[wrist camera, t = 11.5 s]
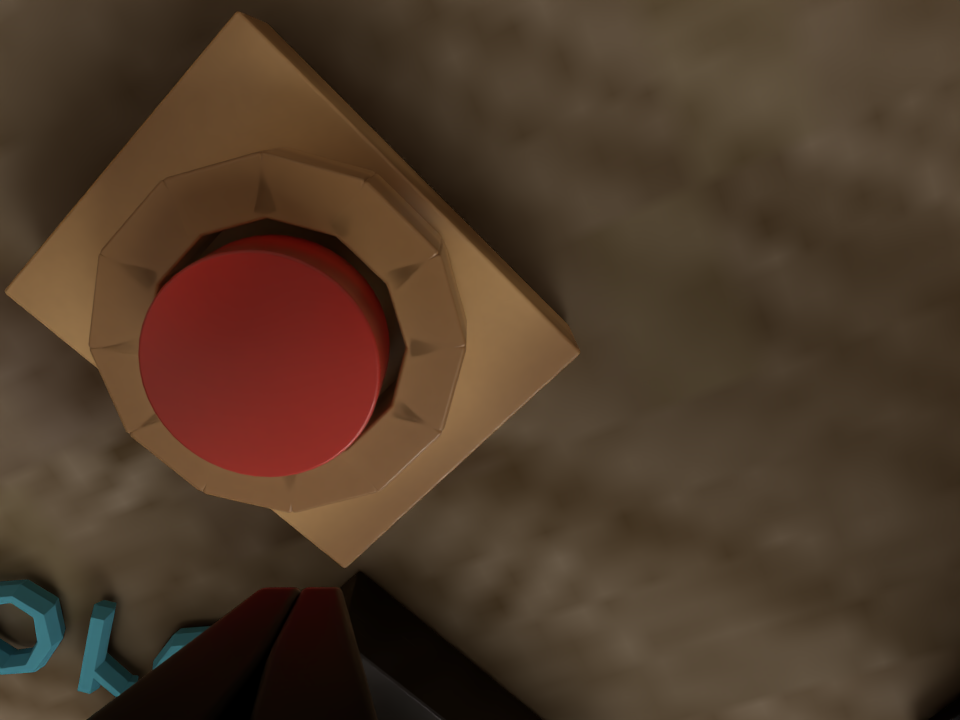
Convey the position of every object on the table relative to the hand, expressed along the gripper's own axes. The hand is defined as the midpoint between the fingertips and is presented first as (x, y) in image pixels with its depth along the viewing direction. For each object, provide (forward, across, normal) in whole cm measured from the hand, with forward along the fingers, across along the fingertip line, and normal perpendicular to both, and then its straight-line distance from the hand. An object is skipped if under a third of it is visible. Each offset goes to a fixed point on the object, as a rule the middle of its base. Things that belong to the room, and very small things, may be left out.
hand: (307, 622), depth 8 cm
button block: (+12, +2, -1) cm, 12 cm away
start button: (+8, +2, -1) cm, 8 cm away
